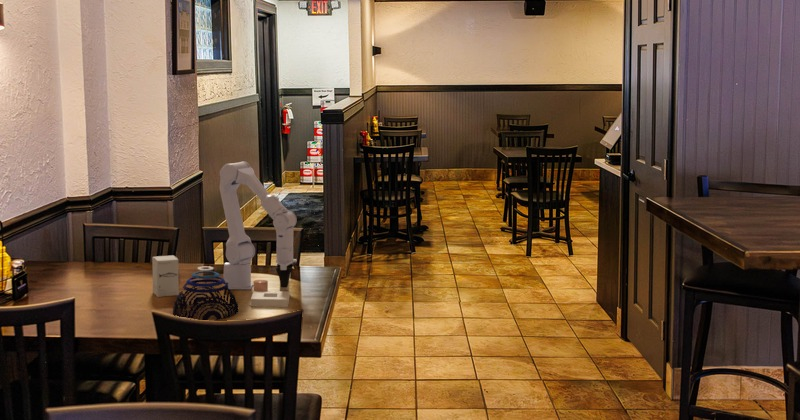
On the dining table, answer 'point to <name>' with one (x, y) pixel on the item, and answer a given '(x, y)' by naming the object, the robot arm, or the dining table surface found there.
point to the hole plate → (270, 298)
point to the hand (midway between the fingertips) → (284, 285)
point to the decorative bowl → (233, 309)
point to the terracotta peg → (260, 285)
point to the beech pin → (284, 288)
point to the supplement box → (165, 276)
